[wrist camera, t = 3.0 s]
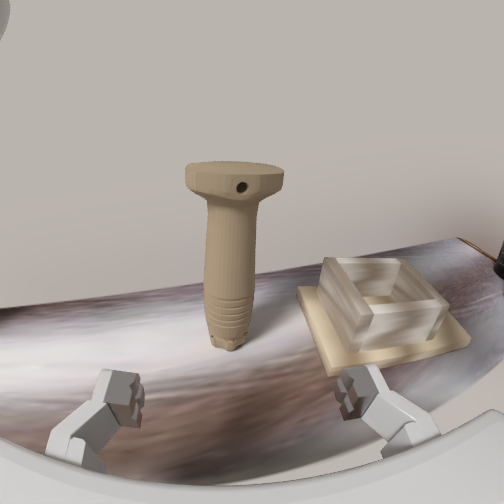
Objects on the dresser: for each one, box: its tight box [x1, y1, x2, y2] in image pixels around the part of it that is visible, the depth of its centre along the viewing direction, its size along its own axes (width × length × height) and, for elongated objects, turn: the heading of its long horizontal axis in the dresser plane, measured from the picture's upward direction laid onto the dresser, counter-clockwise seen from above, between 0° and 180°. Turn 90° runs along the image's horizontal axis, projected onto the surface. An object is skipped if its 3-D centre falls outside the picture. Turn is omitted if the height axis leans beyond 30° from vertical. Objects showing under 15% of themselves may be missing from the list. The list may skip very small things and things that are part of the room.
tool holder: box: [296, 257, 472, 377], centre depth 27 cm, size 18×12×6 cm, turn 96°
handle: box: [185, 161, 284, 351], centre depth 21 cm, size 5×6×15 cm
